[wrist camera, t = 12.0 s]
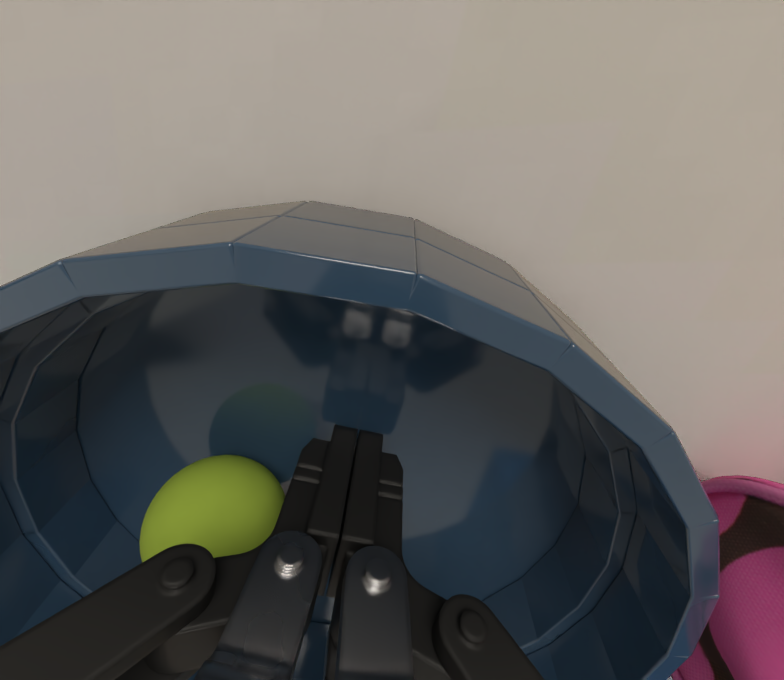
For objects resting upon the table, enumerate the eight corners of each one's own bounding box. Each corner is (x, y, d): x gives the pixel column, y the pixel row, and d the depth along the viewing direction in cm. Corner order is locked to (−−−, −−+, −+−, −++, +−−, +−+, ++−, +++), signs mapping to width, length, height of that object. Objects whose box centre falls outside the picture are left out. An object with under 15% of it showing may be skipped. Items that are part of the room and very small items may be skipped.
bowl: (-46, 421, 13) (-271, 557, 9) (388, 3, 8) (359, -191, 3) (311, 659, 20) (283, 804, 16) (688, 529, 14) (814, 700, 10)
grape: (163, 461, 13) (71, 578, 10) (243, 408, 12) (171, 520, 8) (246, 526, 14) (193, 650, 11) (326, 484, 13) (294, 608, 10)
